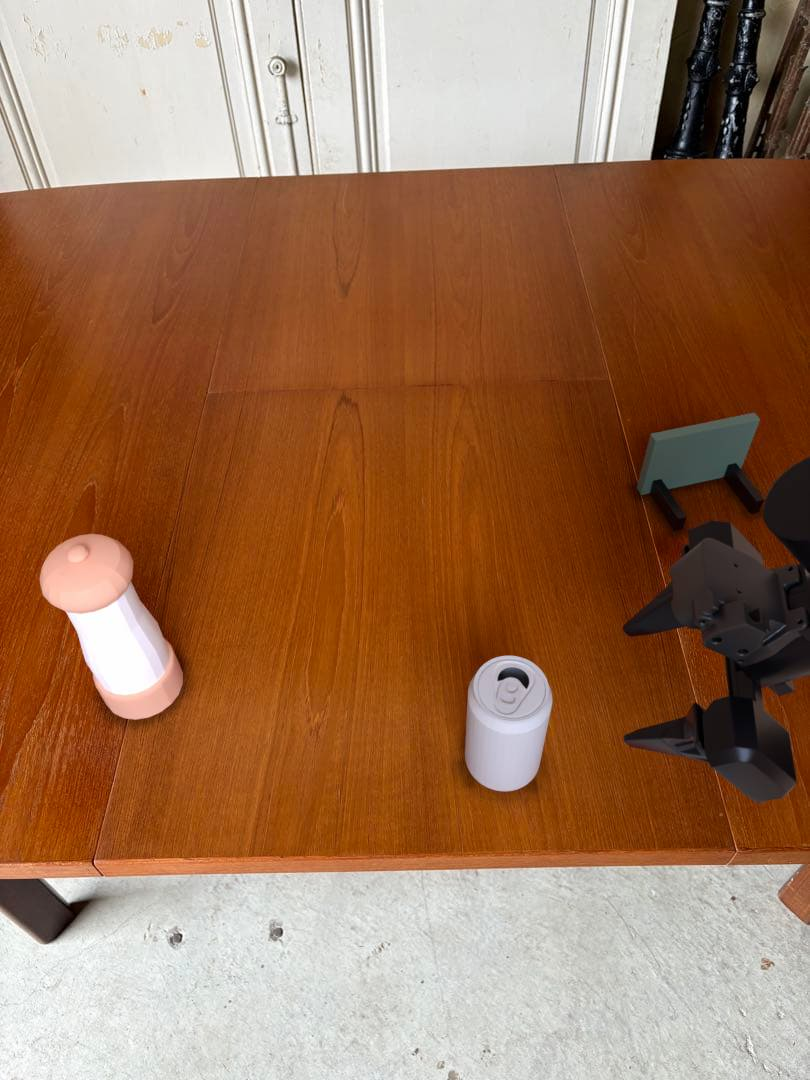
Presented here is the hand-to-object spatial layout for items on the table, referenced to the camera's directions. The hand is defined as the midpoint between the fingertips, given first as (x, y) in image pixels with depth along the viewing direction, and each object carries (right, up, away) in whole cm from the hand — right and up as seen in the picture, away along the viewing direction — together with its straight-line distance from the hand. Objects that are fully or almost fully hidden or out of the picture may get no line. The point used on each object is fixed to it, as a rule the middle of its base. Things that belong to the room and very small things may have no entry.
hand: (626, 683), depth 58 cm
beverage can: (-8, -9, +11) cm, 16 cm away
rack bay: (+17, +15, +31) cm, 38 cm away
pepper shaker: (-40, -3, +17) cm, 44 cm away
